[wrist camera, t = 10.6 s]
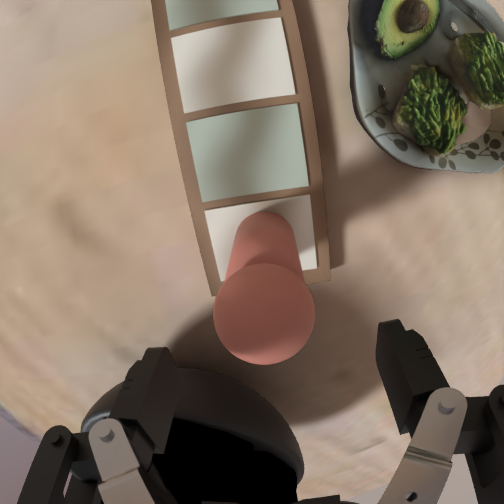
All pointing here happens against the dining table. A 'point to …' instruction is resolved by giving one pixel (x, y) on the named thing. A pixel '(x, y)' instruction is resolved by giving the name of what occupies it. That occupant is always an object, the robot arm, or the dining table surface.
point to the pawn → (264, 293)
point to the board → (243, 124)
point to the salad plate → (428, 79)
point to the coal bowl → (222, 443)
